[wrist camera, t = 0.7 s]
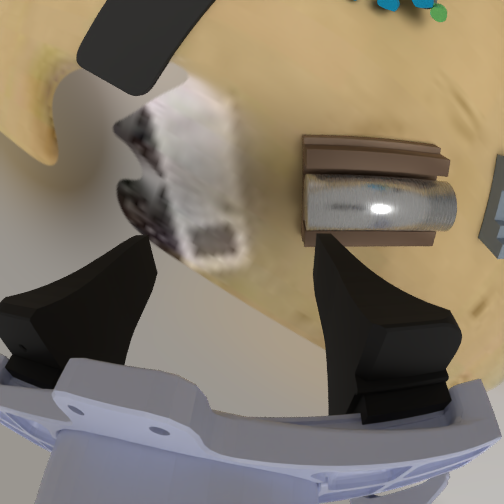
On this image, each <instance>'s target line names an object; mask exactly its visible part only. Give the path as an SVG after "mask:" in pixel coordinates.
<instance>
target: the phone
mask: <svg viewBox="0 0 504 504" xmlns="http://www.w3.org/2000/svg"><path fill="white" fill-rule="evenodd" d="M214 2H215V0H107V1H106V3H105V4H104V6H103V7H102V9H101V10H100V12H99V13H98V15H97V17H96V18H95V20H94V22H93V23H92V25H91V27H90V28H89V30H88V32H87V34H86V36H85V37H84V39H83V41H82V43H81V45H80V47H79V49H78V52H77V57H76V58H77V62H78V64H79V65H80V66H81V67H82V68H84V69H85V70H87V71H89V72H91V73H93V74H94V75H96V76H98V77H100V78H101V79H103V80H105V81H107V82H109V83H110V84H112V85H114V86H115V87H117V88H119V89H121V90H122V91H124V92H126V93H128V94H130V95H133V96H140V95H144V94H146V93H148V92H149V91H150V90H151V89H152V88H153V87H154V85H155V84H156V82H157V80H158V79H159V77H160V76H161V74H162V72H163V71H164V70H165V68H166V67H167V65H168V64H169V60H170V59H171V57H172V56H173V55H174V53H175V52H176V50H177V49H178V47H179V46H180V45H181V43H182V42H183V41H184V39H185V38H186V37H187V35H188V34H189V33H190V31H191V30H192V29H193V27H194V26H195V25H196V23H197V22H198V21H199V20H200V18H201V17H202V16H203V15H204V13H205V12H206V11H207V10H208V9H209V7H210V6H211V5H212V4H213V3H214Z"/></svg>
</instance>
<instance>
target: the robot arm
mask: <svg viewBox="0 0 504 504" xmlns="http://www.w3.org/2000/svg"><path fill="white" fill-rule="evenodd" d="M156 276H157V270H156V266H155V262H154V258H153V254H152V250H151V246H150V242H149V237H148V235H136V236H133V237H131V238H129V239H128V240H126V241H124V242H123V243H121V244H119V245H118V246H116V247H115V248H113V249H112V250H110V251H109V252H107V253H106V254H104V255H103V256H101V257H99V258H98V259H96V260H94V261H93V262H91V263H90V264H88V265H87V266H85V267H83V268H81V269H79V270H78V271H76V272H74V273H72V274H70V275H68V276H66V277H64V278H62V279H60V280H57V281H55V282H53V283H50V284H48V285H46V286H43V287H40V288H37V289H34V290H31V291H28V292H25V293H21V294H17V295H13V296H9V297H5V298H4V299H3V300H2V301H1V302H0V338H1V339H2V340H3V342H4V343H5V345H6V346H7V347H8V349H9V350H10V352H11V353H12V356H11V357H10V359H8V358H7V357H6V356H4V355H2V354H0V423H1V424H3V425H4V426H6V427H7V428H9V429H11V430H12V431H14V432H16V433H17V434H19V435H21V436H22V437H24V438H26V439H28V440H29V441H31V442H33V443H35V444H36V445H38V446H40V447H42V448H43V449H46V450H47V451H49V452H51V455H50V458H49V461H48V463H47V466H46V469H45V472H44V475H43V478H42V481H41V484H40V487H39V490H38V494H37V498H36V500H35V504H319V503H327V502H334V501H341V500H346V499H350V504H431V503H432V502H433V501H434V500H435V499H436V498H437V497H438V496H439V495H440V493H441V492H442V491H443V490H444V489H445V488H446V486H447V485H448V480H449V478H450V474H449V472H450V471H452V470H455V469H458V468H460V467H463V466H464V465H466V464H467V463H469V462H470V461H472V460H473V459H475V458H476V457H478V456H479V455H480V454H482V453H483V452H484V451H486V450H487V449H489V448H490V447H491V446H492V445H494V444H495V443H496V442H498V441H499V440H500V439H501V437H502V436H501V432H500V429H499V426H498V423H497V420H496V417H495V414H494V412H493V409H492V406H491V403H490V401H489V398H488V396H487V393H486V390H485V388H484V386H483V383H482V381H481V379H476V380H472V381H468V382H464V383H461V384H457V385H455V386H453V387H451V388H450V389H449V390H448V388H447V385H446V382H445V381H447V380H448V378H449V376H448V373H447V371H446V368H447V366H448V365H449V363H450V361H451V360H452V358H453V357H454V355H455V354H456V352H457V350H458V348H459V346H460V344H461V339H462V334H461V330H460V328H459V326H458V324H457V322H456V320H455V319H454V317H453V315H452V313H451V312H450V310H447V309H444V308H442V307H439V306H436V305H433V304H430V303H427V302H425V301H423V300H421V299H418V298H416V297H414V296H412V295H410V294H408V293H406V292H404V291H402V290H400V289H399V288H397V287H395V286H393V285H392V284H390V283H388V282H387V281H385V280H384V279H382V278H381V277H379V276H378V275H377V274H375V273H374V272H372V271H371V270H370V269H369V268H367V267H366V266H365V265H364V264H363V263H361V262H360V261H359V260H358V259H357V258H356V257H355V256H354V255H352V254H351V253H350V252H349V251H348V250H347V249H346V248H345V247H344V246H343V245H342V244H341V243H340V242H339V241H338V240H337V239H336V238H335V237H334V236H333V235H332V234H331V233H316V245H315V257H314V268H313V280H314V291H315V297H316V302H317V306H318V311H319V315H320V320H321V324H322V329H323V334H324V339H325V347H326V359H327V373H328V399H329V401H328V402H329V416H316V417H283V418H282V417H246V416H240V415H235V414H230V413H226V412H221V411H217V410H212V409H211V408H210V406H209V403H208V400H207V397H206V396H205V395H204V394H203V392H202V391H201V390H200V389H199V388H198V387H197V385H196V384H194V383H192V382H190V381H189V380H187V379H185V378H183V377H181V376H179V375H175V374H172V373H168V372H164V371H160V370H153V369H145V368H139V367H132V366H126V365H124V364H125V360H126V355H127V352H128V348H129V345H130V341H131V338H132V335H133V333H134V330H135V327H136V325H137V323H138V321H139V319H140V317H141V314H142V312H143V310H144V308H145V306H146V304H147V301H148V299H149V297H150V295H151V292H152V290H153V286H154V283H155V280H156ZM429 478H430V479H429ZM426 479H429V480H427V481H426V482H424V483H422V484H420V485H417V486H414V487H411V488H408V489H405V490H402V491H398V492H395V493H392V494H388V495H384V496H376V495H374V494H376V493H380V492H385V491H389V490H393V489H396V488H400V487H403V486H407V485H410V484H413V483H417V482H420V481H423V480H426Z"/></svg>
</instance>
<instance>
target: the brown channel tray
mask: <svg viewBox="0 0 504 504" xmlns="http://www.w3.org/2000/svg"><path fill="white" fill-rule="evenodd" d="M440 150H441V148H439V147H438V146H436V145H432V144H425V143H417V142H409V141H401V140H391V139H380V138H368V137H353V136H333V135H303V188H302V230H301V236H302V241H304V247H315V245H316V233H331V234H332V235H333V236H334V237H335V238H336V239H337V240H338V241H339V242H340V243H341V244H342V245H343V246H344V247H345V246H433V242H434V238H435V235H436V231H384V230H306V227H305V218H304V180H305V175H306V174H334V175H364V176H384V177H399V178H413V179H425V180H436V179H437V176H445V177H448V172H449V166H450V160H449V159H447V158H446V157H444V156H442V155H441V154H440Z"/></svg>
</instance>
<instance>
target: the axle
mask: <svg viewBox="0 0 504 504" xmlns="http://www.w3.org/2000/svg"><path fill="white" fill-rule="evenodd" d="M456 213H457V201H456V196H455V192H454V190H453V188H452V186H451V185H450V184H449V183H448V182H445V181H436V180H425V179H413V178H399V177H384V176H364V175H334V174H306V175H305V180H304V218H305V227H306V230H384V231H448V230H449V229H450V228H451V227H452V226H453V224H454V221H455V218H456Z"/></svg>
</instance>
